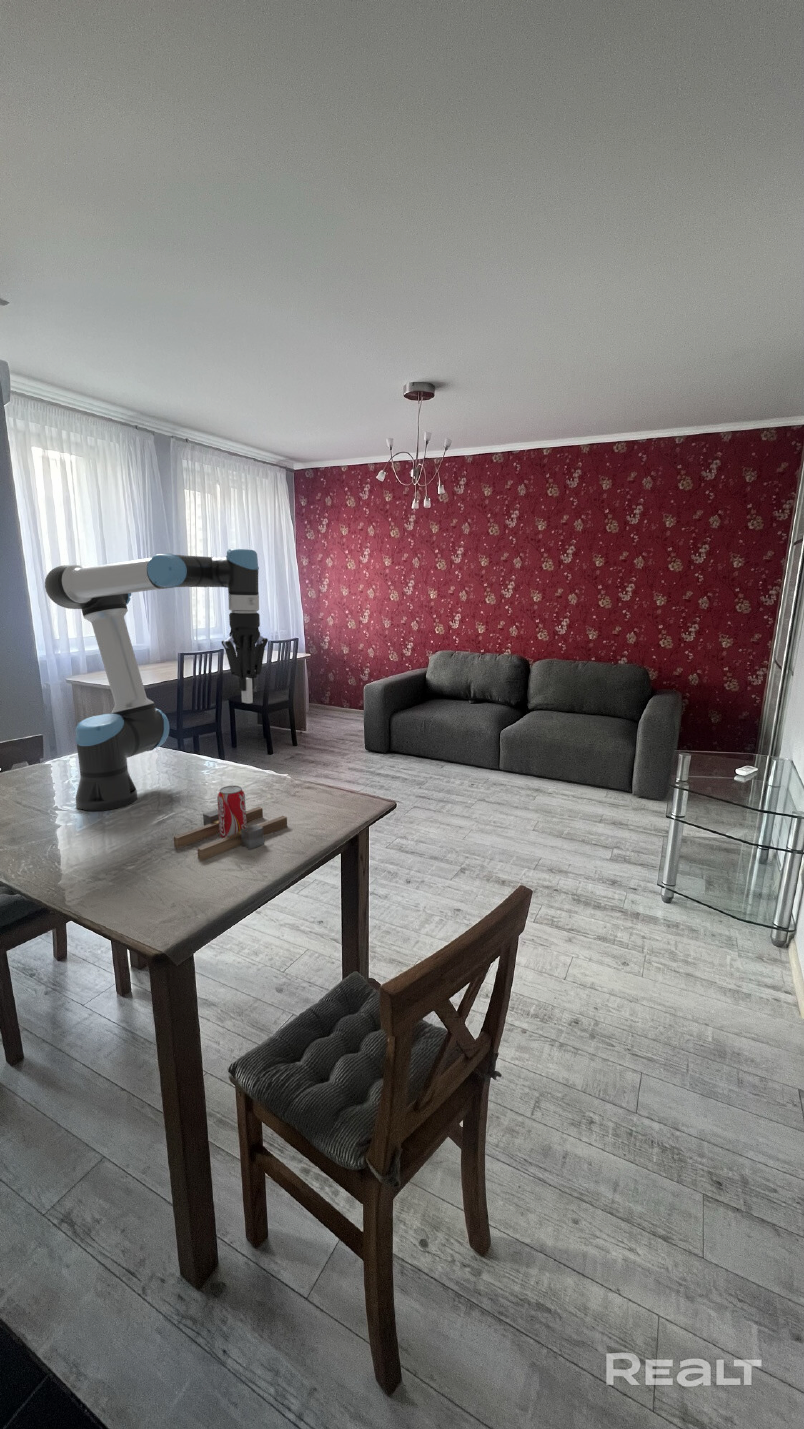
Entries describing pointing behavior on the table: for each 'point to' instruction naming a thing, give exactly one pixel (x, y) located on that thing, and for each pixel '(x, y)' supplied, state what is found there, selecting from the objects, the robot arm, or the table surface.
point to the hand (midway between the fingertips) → (247, 702)
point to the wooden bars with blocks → (244, 837)
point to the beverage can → (231, 810)
